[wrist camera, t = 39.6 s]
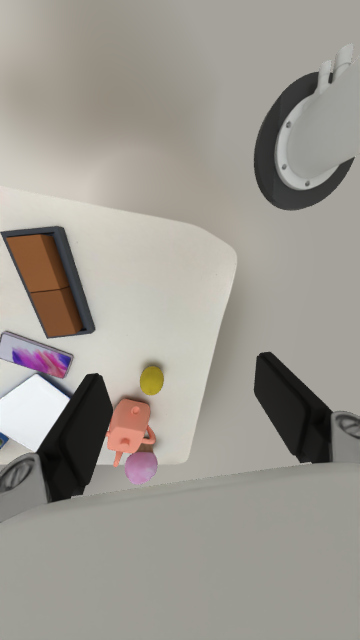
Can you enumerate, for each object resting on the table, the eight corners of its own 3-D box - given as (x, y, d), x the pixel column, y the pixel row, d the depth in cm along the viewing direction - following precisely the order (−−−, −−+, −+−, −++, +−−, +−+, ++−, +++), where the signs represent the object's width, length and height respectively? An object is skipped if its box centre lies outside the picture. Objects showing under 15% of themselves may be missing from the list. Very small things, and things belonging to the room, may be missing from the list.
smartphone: (0, 331, 36) (72, 357, 40) (4, 329, 37) (74, 355, 41) (-6, 357, 38) (63, 380, 42) (-2, 355, 39) (65, 377, 43)
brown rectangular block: (42, 288, 34) (29, 292, 31) (22, 239, 31) (5, 237, 28) (69, 285, 34) (59, 289, 31) (53, 236, 31) (39, 234, 28)
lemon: (147, 357, 42) (142, 379, 35) (167, 364, 44) (167, 387, 36) (139, 373, 44) (133, 398, 37) (158, 380, 45) (157, 405, 38)
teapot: (100, 397, 46) (84, 434, 37) (142, 384, 45) (136, 419, 36) (123, 430, 51) (113, 471, 42) (160, 420, 51) (159, 458, 41)
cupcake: (129, 450, 55) (121, 490, 45) (130, 431, 52) (122, 471, 42) (157, 451, 56) (155, 490, 46) (159, 432, 53) (158, 471, 43)
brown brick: (58, 329, 38) (48, 337, 34) (42, 289, 34) (29, 293, 31) (83, 326, 38) (75, 333, 35) (70, 286, 34) (60, 289, 31)
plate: (106, 419, 49) (104, 426, 47) (51, 452, 52) (47, 460, 51) (41, 368, 41) (35, 374, 40) (-18, 411, 45) (-27, 418, 43)
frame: (52, 334, 38) (46, 338, 37) (9, 233, 31) (-1, 231, 29) (95, 329, 39) (91, 333, 37) (63, 227, 31) (57, 226, 29)
